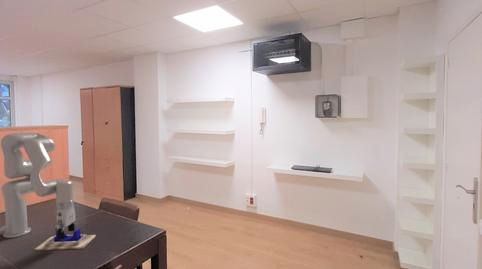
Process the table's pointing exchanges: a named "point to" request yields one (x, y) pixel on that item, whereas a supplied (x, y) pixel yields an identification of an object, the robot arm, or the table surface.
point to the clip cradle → (65, 243)
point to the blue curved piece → (75, 237)
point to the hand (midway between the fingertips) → (66, 234)
